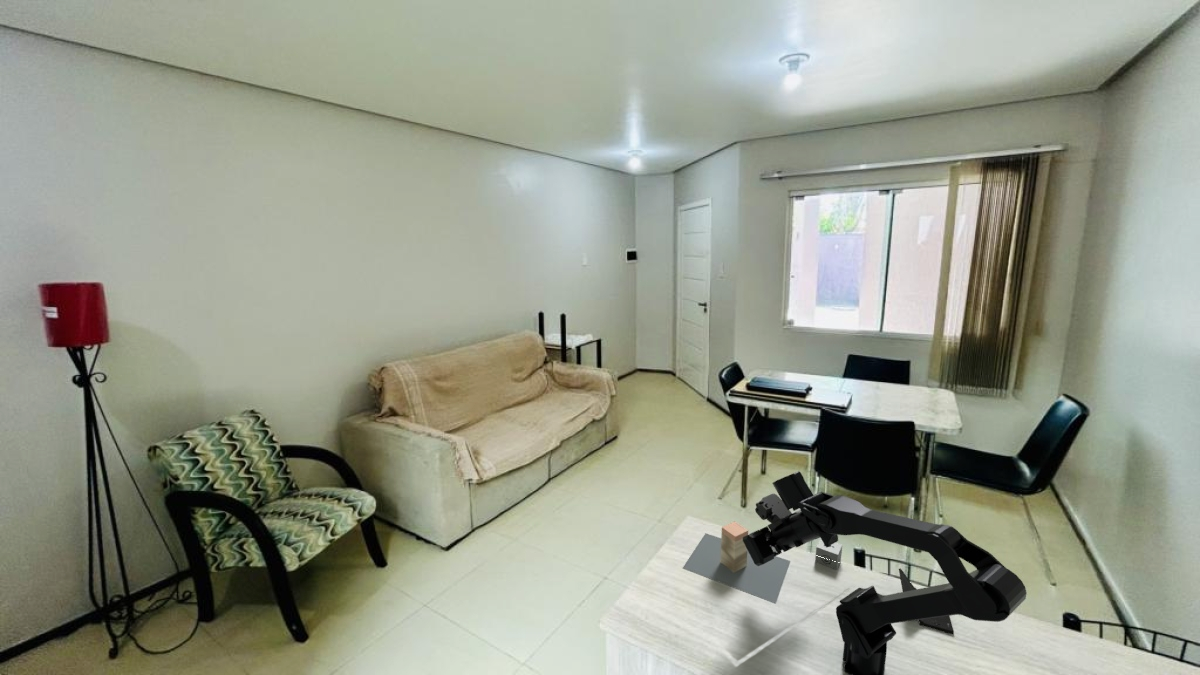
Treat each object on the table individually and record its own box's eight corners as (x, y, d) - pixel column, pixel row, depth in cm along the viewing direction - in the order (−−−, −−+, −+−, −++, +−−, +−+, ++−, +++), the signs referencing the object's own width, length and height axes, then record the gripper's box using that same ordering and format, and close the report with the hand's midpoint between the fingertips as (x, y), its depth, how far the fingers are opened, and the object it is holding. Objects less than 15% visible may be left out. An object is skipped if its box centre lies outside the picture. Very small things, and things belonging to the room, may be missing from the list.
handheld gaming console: (966, 630, 96) (934, 587, 97) (932, 644, 98) (901, 602, 99) (944, 597, 107) (915, 559, 108) (914, 610, 109) (886, 572, 110)
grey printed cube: (819, 553, 122) (821, 536, 121) (840, 561, 119) (842, 544, 118) (814, 564, 118) (816, 546, 117) (836, 572, 115) (838, 554, 114)
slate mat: (790, 563, 119) (790, 560, 118) (775, 606, 105) (775, 603, 105) (705, 535, 131) (705, 533, 130) (682, 570, 117) (682, 568, 117)
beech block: (746, 565, 117) (748, 530, 115) (733, 572, 115) (735, 536, 113) (733, 555, 121) (734, 521, 119) (720, 562, 119) (721, 527, 117)
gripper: (808, 479, 106) (766, 500, 118) (751, 503, 97) (712, 524, 109) (837, 527, 101) (791, 545, 113) (781, 558, 92) (736, 574, 104)
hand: (758, 545), depth 110 cm, fingers closed
